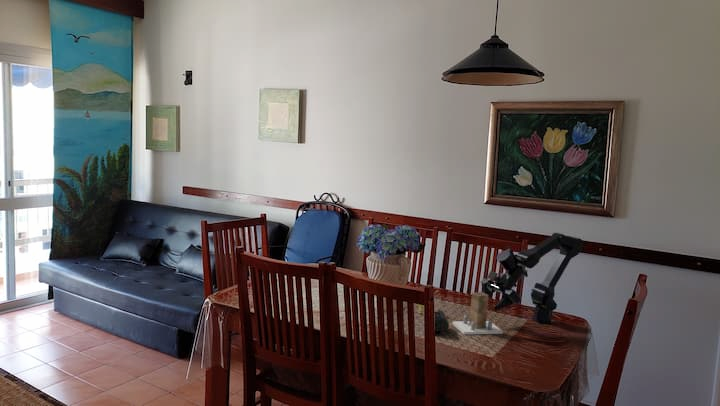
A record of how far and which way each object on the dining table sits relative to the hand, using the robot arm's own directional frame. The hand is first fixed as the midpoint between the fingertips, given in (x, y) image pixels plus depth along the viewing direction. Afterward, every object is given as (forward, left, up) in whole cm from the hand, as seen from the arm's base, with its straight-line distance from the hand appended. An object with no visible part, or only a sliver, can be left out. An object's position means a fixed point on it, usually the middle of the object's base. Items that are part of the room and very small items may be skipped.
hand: (486, 306), depth 197 cm
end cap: (+21, +2, -9) cm, 23 cm away
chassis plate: (+4, +1, -9) cm, 9 cm away
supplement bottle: (+19, -18, -9) cm, 28 cm away
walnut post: (+4, +1, -8) cm, 9 cm away
